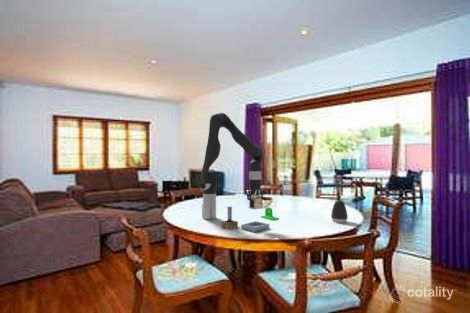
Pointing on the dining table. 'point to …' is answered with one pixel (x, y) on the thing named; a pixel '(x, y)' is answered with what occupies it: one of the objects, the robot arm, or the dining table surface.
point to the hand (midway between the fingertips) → (255, 206)
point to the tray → (255, 226)
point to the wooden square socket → (229, 225)
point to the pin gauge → (229, 214)
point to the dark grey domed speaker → (339, 212)
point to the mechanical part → (269, 214)
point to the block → (256, 203)
